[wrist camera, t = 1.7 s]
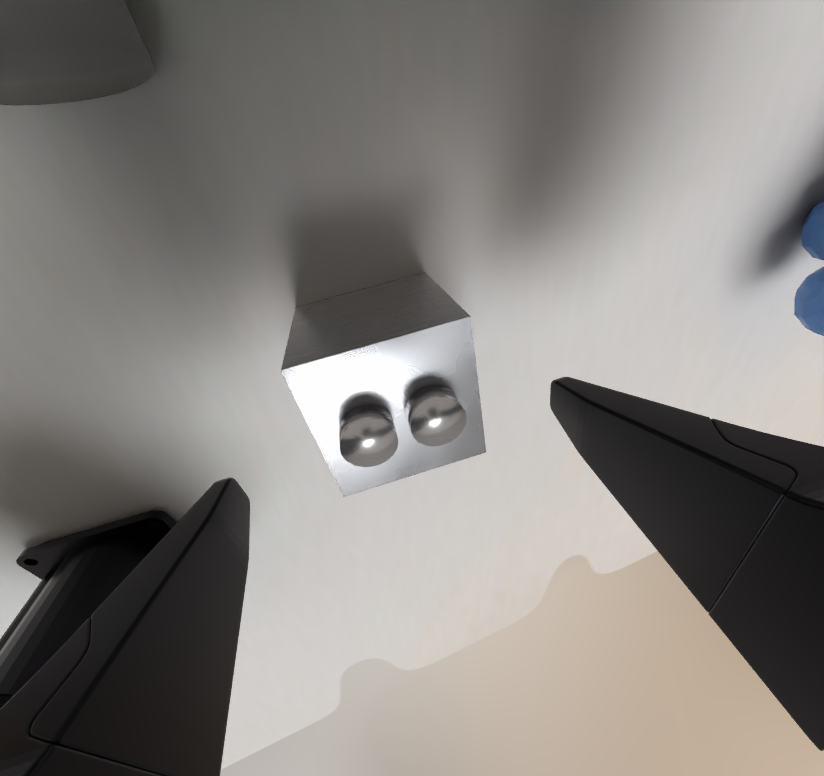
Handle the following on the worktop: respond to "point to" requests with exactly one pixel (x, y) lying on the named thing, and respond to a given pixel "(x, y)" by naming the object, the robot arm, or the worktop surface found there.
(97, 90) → the chassis
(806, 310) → the grapes
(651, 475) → the robot arm
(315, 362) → the block
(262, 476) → the worktop surface
